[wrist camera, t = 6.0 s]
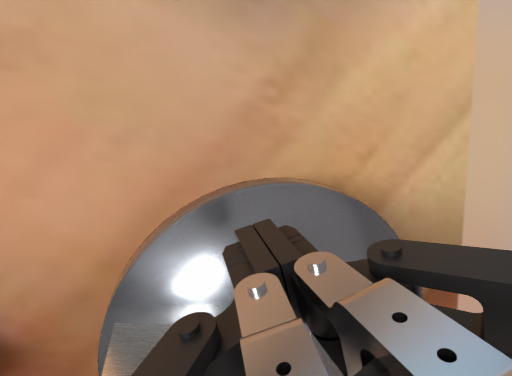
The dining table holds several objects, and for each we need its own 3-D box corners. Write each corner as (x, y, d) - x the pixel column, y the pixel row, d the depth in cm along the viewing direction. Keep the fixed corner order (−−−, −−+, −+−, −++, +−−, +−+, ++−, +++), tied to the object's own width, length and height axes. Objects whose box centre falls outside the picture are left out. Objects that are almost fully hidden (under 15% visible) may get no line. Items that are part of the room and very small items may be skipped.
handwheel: (432, 205, 19) (561, 253, 13) (351, 434, 22) (422, 562, 16) (134, 145, 14) (105, 177, 7) (83, 456, 17) (32, 661, 10)
